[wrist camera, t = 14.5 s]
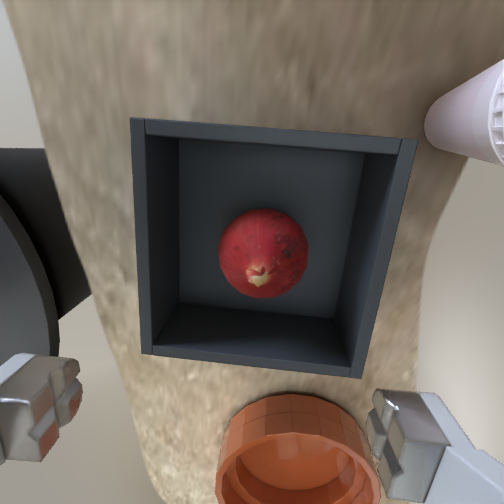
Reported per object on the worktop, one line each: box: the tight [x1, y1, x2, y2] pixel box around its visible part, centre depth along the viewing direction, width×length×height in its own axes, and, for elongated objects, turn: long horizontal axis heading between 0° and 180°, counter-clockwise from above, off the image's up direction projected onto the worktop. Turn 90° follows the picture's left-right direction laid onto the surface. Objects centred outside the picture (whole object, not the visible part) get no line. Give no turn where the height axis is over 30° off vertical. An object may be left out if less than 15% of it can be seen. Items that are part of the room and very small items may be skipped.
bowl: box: [215, 394, 381, 504], centre depth 29 cm, size 14×14×4 cm
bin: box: [130, 117, 418, 379], centre depth 21 cm, size 15×15×7 cm
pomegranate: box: [218, 208, 309, 298], centre depth 20 cm, size 6×6×8 cm
